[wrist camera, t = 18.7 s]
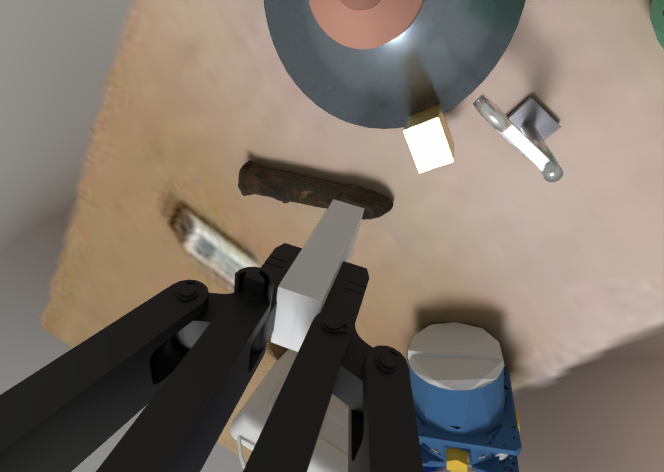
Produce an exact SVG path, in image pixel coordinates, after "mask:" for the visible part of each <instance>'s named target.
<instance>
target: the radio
mask: <svg viewBox="0 0 664 472" xmlns="http://www.w3.org/2000/svg"><path fill="white" fill-rule="evenodd" d="M297 353H298V352H297V351H294V350H291V349H288V350H287V351H286V352H285V353H284V354H283V355H282V356H281V357H280V358H279V359H278V360H277V361H276V363H275V364H274V365H273V367H272V368H271V369H270V371H269V372H268V374H267V375H266V376H265V378H264V379H263V380H262V382H261V383H260V384H259V386H258V387H257V388H256V390H255V391H254V393H253V394H252V395H251V397H250V398H249V399H248V401H247V402H246V403H245V405H244V406H243V407H242V409H241V410H240V411H239V413H238V414H237V415H236V417H235V418H234V420H233V421H232V424H231V427H230V433H231V435H232V436H233V438H234V439H235V440H236V441H237V442H238V451H239V458H240V461H241V464H242V467H243V470H244V468H245V466H246V464H245V461H244V459H243V455H242V445H244V446H245V447H247V448H249V449H250V450H252V451H253V449H254V447H255V444H256V442H257V440H258V438H259V436H260V434H261V431H262V429H263V427H264V425H265V423H266V421H267V418H268V416H269V414H270V412H271V410H272V408H273V405H274V403H275V401H276V399H277V397H278V395H279V392H280V390H281V388H282V386H283V384H284V382H285V379H286V377H287V375H288V373H289V371H290V369H291V366H292V364H293V362H294V360H295V358H296V356H297ZM348 412H349V406H347V405H346V404H345V403H344V402H342V401H341V400H340V399H338V398H337V397H336V396H335V395H333V394H332V397H331V400H330V403H329V406H328V409H327V412H326V415H325V418H324V421H323V424H322V427H321V431H320V434H319V437H318V440H317V443H316V446H315V449H314V452H313V455H312V458H311V461H310V464H309V468H308V471H307V472H348Z"/></svg>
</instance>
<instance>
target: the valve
mask: <svg viewBox="0 0 664 472" xmlns="http://www.w3.org/2000/svg"><path fill="white" fill-rule="evenodd" d="M408 364H409V375H410V382H411V388H412V395H413V402H414V409H415V416H416V423H417V429H418V436H419V443H420V450H421V457H422V464H423V466H428V467H435V466H447V469H448V470H450V471H451V472H467V469H468V470H473V471H476V472H519V469H518V461H517V456H518V455H519V453H520V451H521V450H522V447H521V441H520V436H519V431H520V424H519V416H518V411H517V410H515V406H514V400H513V393H512V387H511V381H510V375H509V372H508V369H507V367H504V366H505V364H504V360H503V356H502V352H501V348H500V344H499V342H498V341H497V340H496V339H495V338H493V337H492V336H491V335H490V334H489V333H487V332H486V331H485V330H484V329H483V328H479V327H474V326H470V325H466V324H461V323H457V322H453V323H442V324H431V325H429V326H428V327H426V328H425V329H423V330H422V331H420V332H419V333H417V334H415V335H414V336H413V338H412V341H411V343H410V346H409V349H408ZM510 457H511V458H512V459H510Z"/></svg>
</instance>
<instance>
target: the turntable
mask: <svg viewBox="0 0 664 472" xmlns="http://www.w3.org/2000/svg"><path fill="white" fill-rule="evenodd" d="M524 4H525V0H425V1H424V4H423V6H422V9H421V11H420V13H419V14H418V16H417V18H416V19H415V21H414V22H413V23H412V24H411V26H410V27H409V28H408V29H407V30H406V31H405V32H403V33H402V34H401V35H400V36H398V37H396V38H395V39H393V40H391V41H389V42H388V43H386V44H383V45H381V46H379V47H375V48H371V49H354V48H349V47H347V46H344V45H342V44H340V43H338V42H336V41H335V40H333V39H332V38H331V37H329V36H328V35H327V34H326V33H325V32H324V30H323V29H322V28H321V27H320V25H319V24H318V22H317V21H316V19H315V17H314V15H313V13H312V10H311V7H310V4H309V0H264V8H265V13H266V18H267V24H268V28H269V31H270V34H271V38H272V41H273V44H274V46H275V48H276V51H277V53H278V56H279V58H280V60H281V62H282V63H283V65H284V67H285V69H286V71H287V72H288V74H289V75H290V77H291V78H292V79H293V81H294V82H295V84H296V85H297V86H298V87H299V88H300V89H301V90H302V92H303V93H304V94H305V95H306V96H307V97H308V98H309V99H311V100H312V101H313V102H314V103H315V104H316V105H317V106H319V107H320V108H322V109H323V110H325V111H326V112H328V113H329V114H331V115H333V116H335V117H337V118H339V119H341V120H343V121H346V122H349V123H352V124H355V125H359V126H364V127H369V128H381V129H388V128H401V127H405V128H404V130H403V132H404V134H405V137H406V140H407V142H408V145H409V147H410V150H411V152H412V155H413V158H414V160H415V163H416V165H417V168H418V171H419V173H421V172H424V171H427V170H430V169H433V168H436V167H439V166H442V165H445V164H448V163H451V162H454V142H453V139H452V136H451V133H450V130H449V127H448V124H447V121H446V118H445V115H444V112H446V111H447V110H449V109H451V108H452V107H454V106H455V105H457V104H458V103H460V102H461V101H462V100H463V99H465V98H466V97H467V96H468V95H470V94H471V93H472V92H473V91H474V90H475V89H476V88H477V87H478V86H479V85H480V84H481V83H482V82H483V81H484V80H485V78H486V77H487V76H488V75H489V73H490V72H491V71H492V69H493V68H494V67H495V66H496V64H497V63H498V61H499V60H500V58H501V56H502V55H503V53H504V52H505V50H506V48H507V47H508V45H509V43H510V40H511V38H512V36H513V34H514V32H515V30H516V28H517V25H518V22H519V19H520V16H521V14H522V11H523V8H524Z"/></svg>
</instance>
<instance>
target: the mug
mask: <svg viewBox="0 0 664 472" xmlns="http://www.w3.org/2000/svg"><path fill="white" fill-rule="evenodd" d="M650 18H651V22H652V25H653V28H654V31H655V34H656V37H657V40H658V41H659V43H660V45H661V46H662V48H663V49H664V0H653V1H652V4H651V16H650Z"/></svg>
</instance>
